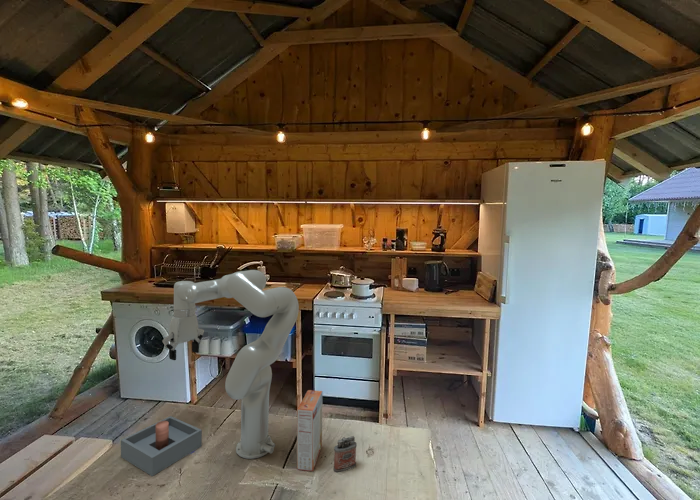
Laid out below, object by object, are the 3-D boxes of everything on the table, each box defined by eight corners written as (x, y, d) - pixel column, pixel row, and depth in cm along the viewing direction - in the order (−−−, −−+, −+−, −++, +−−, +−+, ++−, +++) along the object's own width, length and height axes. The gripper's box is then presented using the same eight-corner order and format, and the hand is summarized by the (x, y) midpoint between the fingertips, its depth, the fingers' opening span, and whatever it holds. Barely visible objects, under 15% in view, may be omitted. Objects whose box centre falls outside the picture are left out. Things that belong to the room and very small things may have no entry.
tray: (201, 446, 123) (201, 429, 123) (152, 476, 107) (152, 457, 107) (170, 431, 132) (170, 415, 131) (120, 457, 116) (120, 439, 116)
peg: (171, 450, 120) (171, 422, 120) (160, 456, 117) (160, 428, 116) (164, 446, 122) (164, 419, 122) (153, 452, 119) (153, 424, 118)
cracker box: (306, 444, 126) (307, 388, 125) (322, 446, 125) (323, 390, 124) (295, 470, 112) (296, 408, 111) (313, 472, 111) (314, 409, 110)
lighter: (336, 474, 110) (336, 444, 110) (331, 467, 113) (332, 438, 113) (357, 467, 114) (358, 438, 114) (353, 460, 117) (353, 432, 117)
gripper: (197, 307, 143) (197, 347, 144) (157, 315, 128) (157, 360, 129) (209, 310, 139) (209, 351, 140) (169, 318, 124) (169, 364, 125)
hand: (184, 355), depth 134 cm, fingers open, 9 cm apart
